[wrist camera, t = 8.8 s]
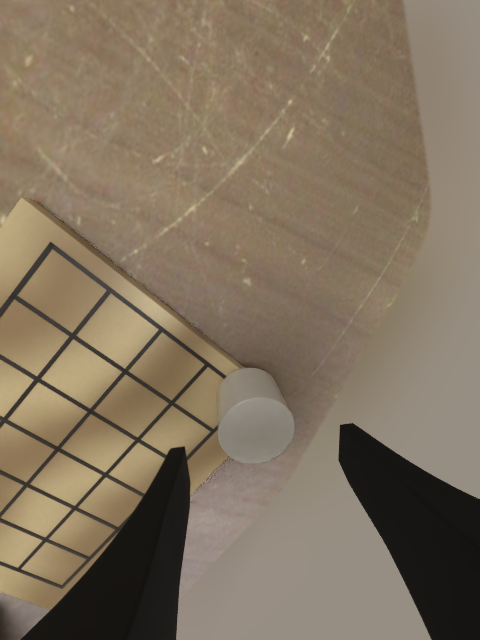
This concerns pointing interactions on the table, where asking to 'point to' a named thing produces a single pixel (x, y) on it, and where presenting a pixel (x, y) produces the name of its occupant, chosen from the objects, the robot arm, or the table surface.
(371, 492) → the robot arm
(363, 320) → the table surface
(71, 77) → the table surface
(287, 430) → the grey short cylinder
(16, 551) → the board
